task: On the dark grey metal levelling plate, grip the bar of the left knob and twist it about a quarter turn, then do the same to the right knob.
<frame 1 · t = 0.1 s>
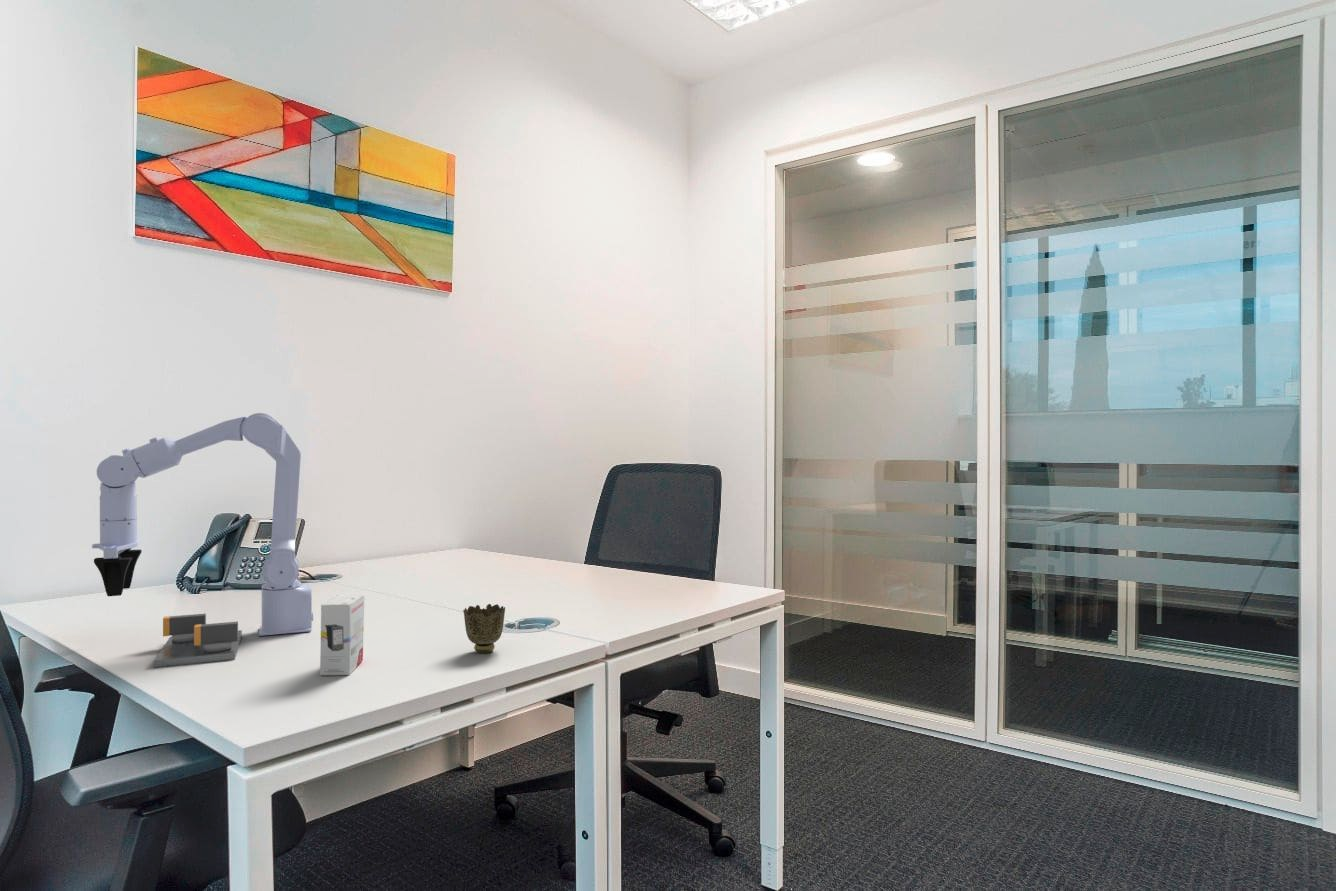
hand: (118, 592, 148), 10 cm above the table, fingers open, 7 cm apart
knob 2: (216, 636, 141), point 3 cm above the table, hinge at 0.0°
cup: (484, 652, 144), on the table
ink box: (343, 670, 133), on the table
levelling plate: (201, 650, 145), on the table
knob 1: (184, 627, 148), point 3 cm above the table, hinge at 0.0°
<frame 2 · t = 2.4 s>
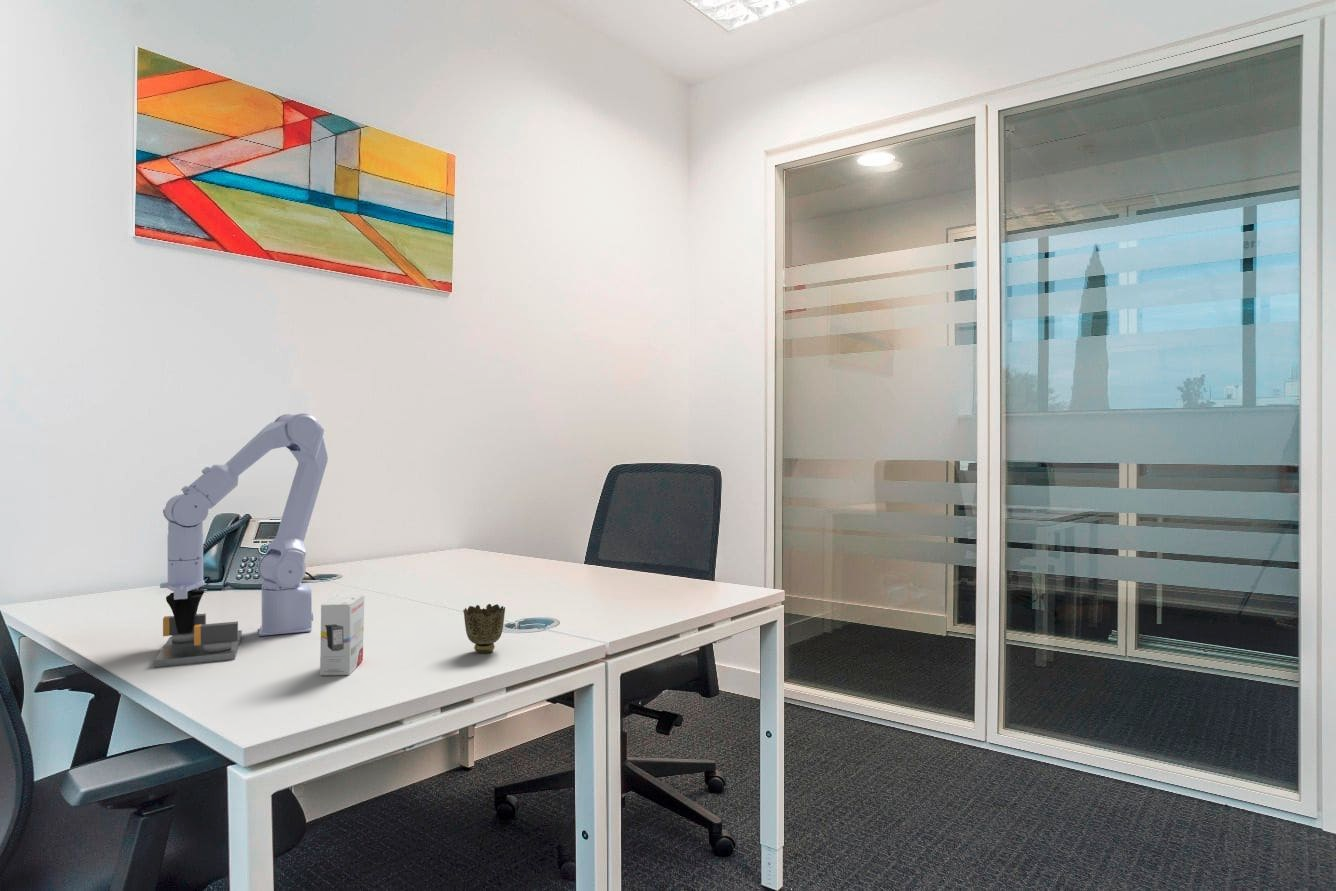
hand: (185, 631, 148), 3 cm above the table, fingers closed on knob 1, 2 cm apart
knob 1: (184, 627, 148), point 3 cm above the table, hinge at 0.0°, touching gripper
everything else where it was.
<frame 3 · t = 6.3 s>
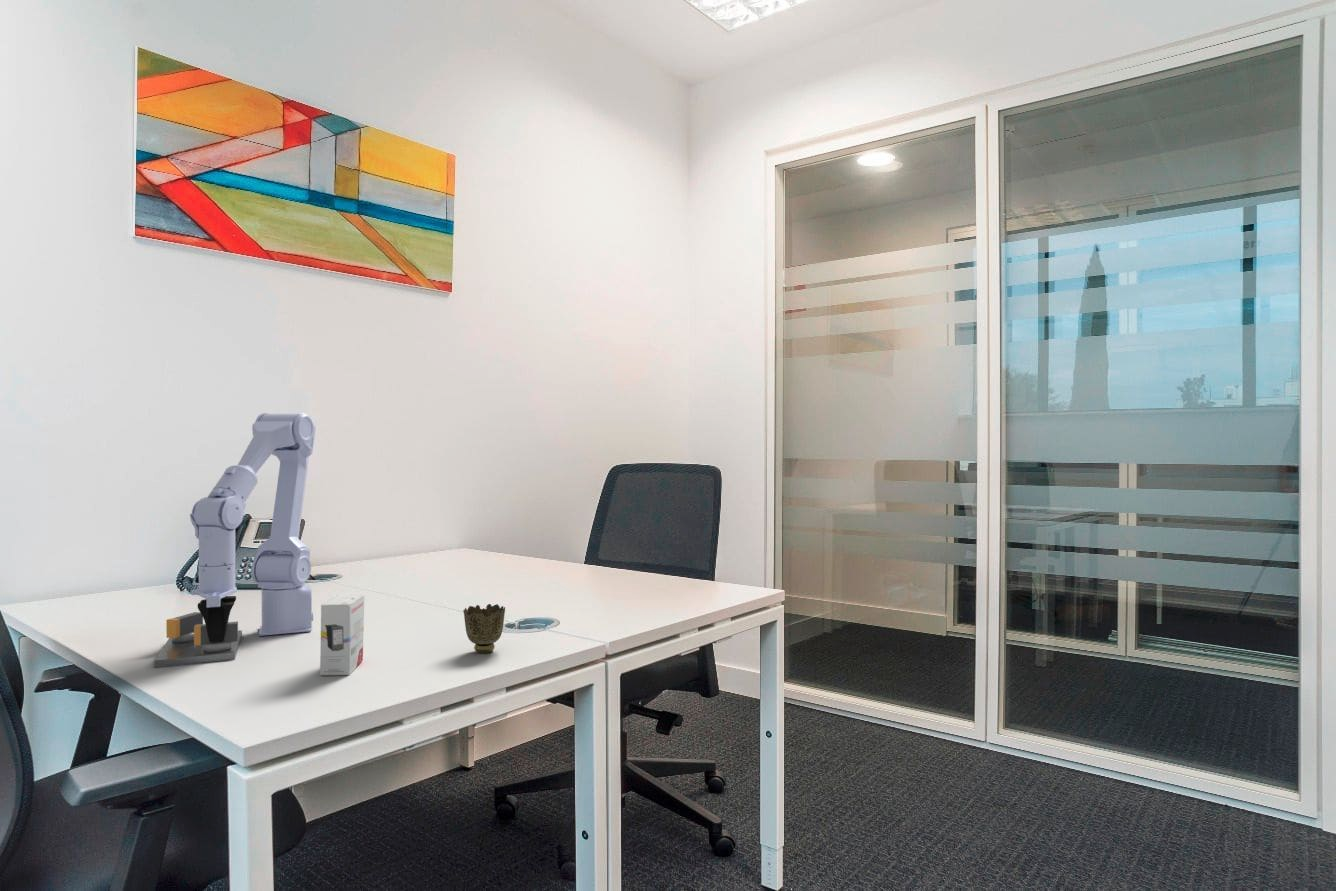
hand: (217, 640, 141), 3 cm above the table, fingers closed on knob 2, 2 cm apart
knob 2: (216, 636, 141), point 3 cm above the table, hinge at 0.0°, touching gripper
knob 1: (185, 627, 148), point 3 cm above the table, hinge at 55.4°
everything else where it was.
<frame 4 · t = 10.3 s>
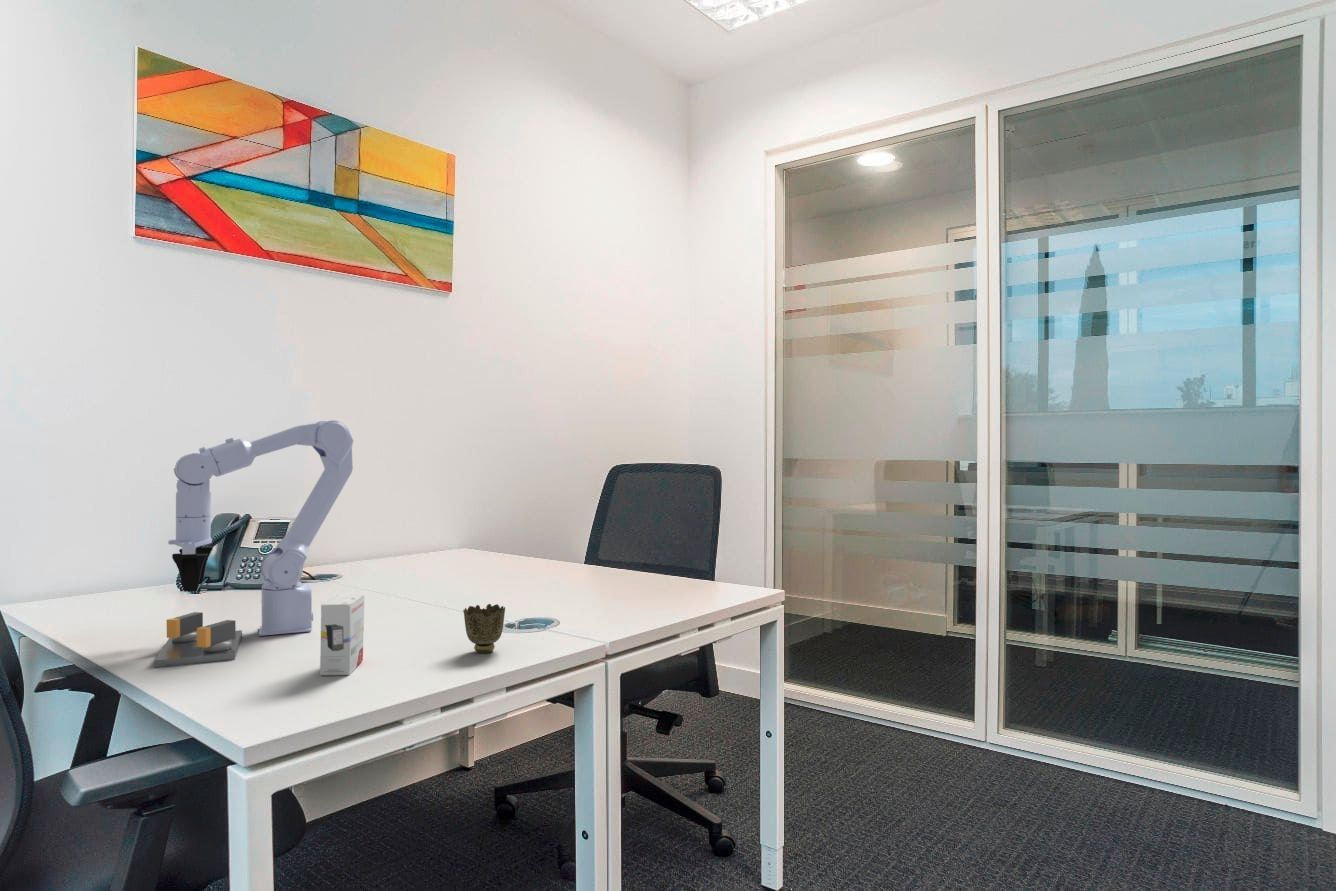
hand: (193, 587, 151), 10 cm above the table, fingers open, 7 cm apart
knob 2: (216, 636, 141), point 3 cm above the table, hinge at 50.9°
knob 1: (185, 627, 148), point 3 cm above the table, hinge at 55.9°
everything else where it was.
at the end: knob 1 at +56° (first picture: +0°); knob 2 at +51° (first picture: +0°) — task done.
